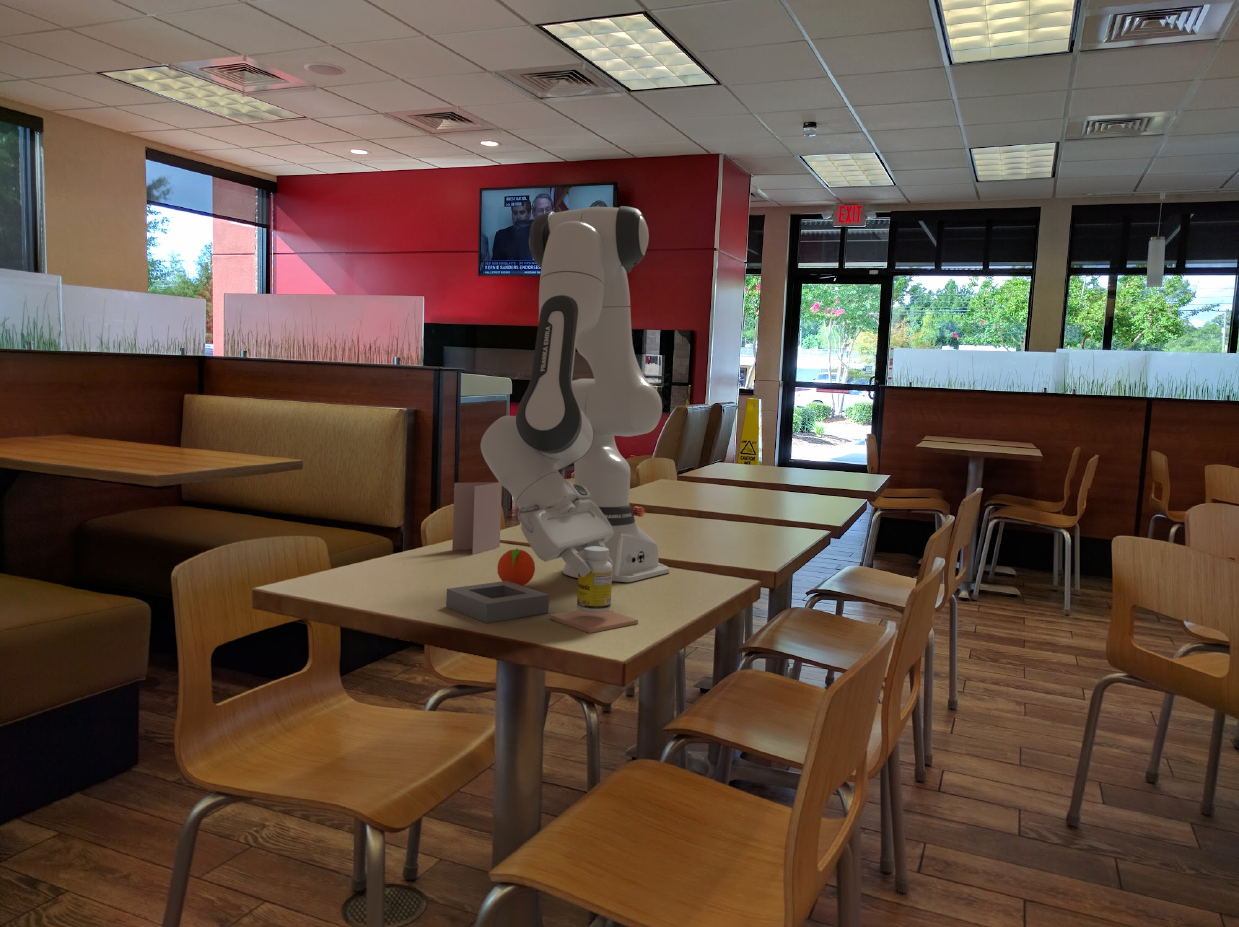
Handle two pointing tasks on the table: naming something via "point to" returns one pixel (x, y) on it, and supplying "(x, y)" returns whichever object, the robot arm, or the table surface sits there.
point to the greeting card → (477, 516)
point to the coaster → (593, 620)
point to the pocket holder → (497, 601)
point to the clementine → (516, 567)
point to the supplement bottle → (595, 582)
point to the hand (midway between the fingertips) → (598, 570)
